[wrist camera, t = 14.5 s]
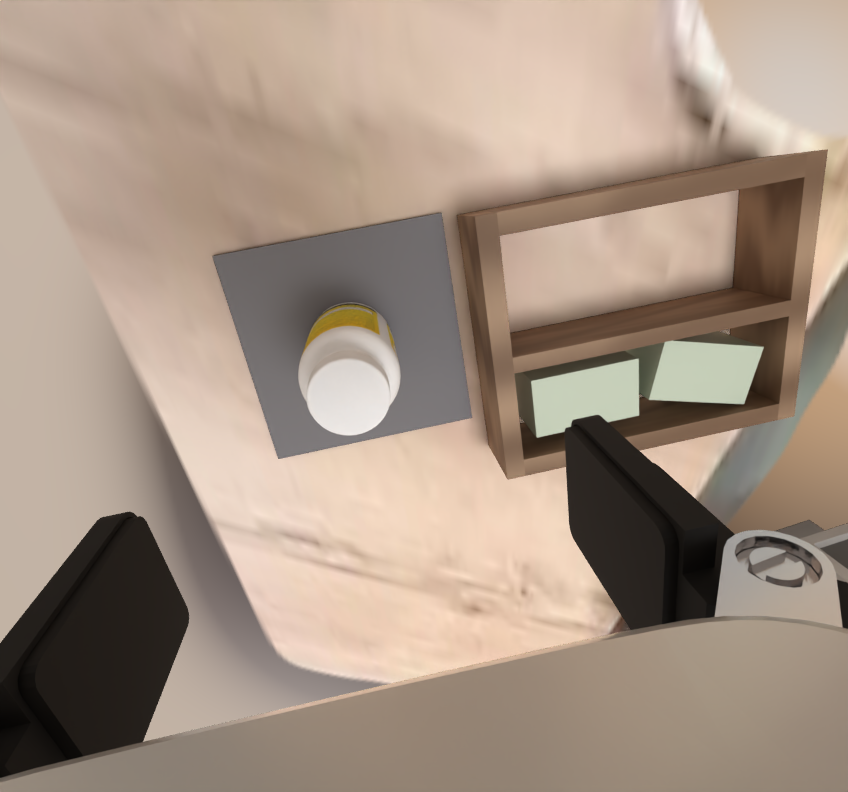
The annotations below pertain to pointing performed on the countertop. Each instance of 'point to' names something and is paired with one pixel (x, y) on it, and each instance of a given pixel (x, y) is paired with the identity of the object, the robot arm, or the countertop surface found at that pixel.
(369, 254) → the mat
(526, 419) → the offcut
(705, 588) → the robot arm
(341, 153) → the countertop surface
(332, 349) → the supplement bottle
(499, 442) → the rack
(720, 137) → the countertop surface
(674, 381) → the offcut
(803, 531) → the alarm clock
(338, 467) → the countertop surface
